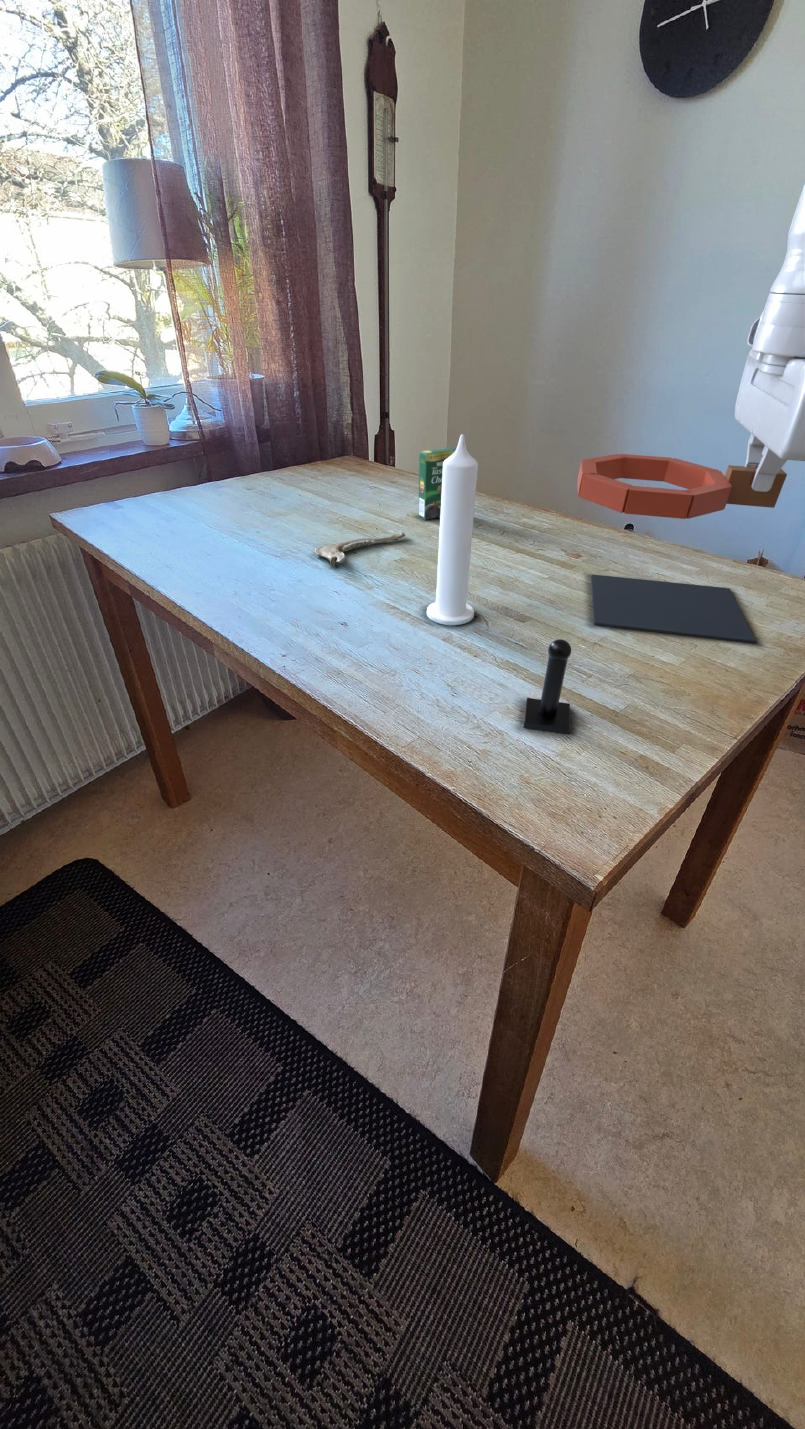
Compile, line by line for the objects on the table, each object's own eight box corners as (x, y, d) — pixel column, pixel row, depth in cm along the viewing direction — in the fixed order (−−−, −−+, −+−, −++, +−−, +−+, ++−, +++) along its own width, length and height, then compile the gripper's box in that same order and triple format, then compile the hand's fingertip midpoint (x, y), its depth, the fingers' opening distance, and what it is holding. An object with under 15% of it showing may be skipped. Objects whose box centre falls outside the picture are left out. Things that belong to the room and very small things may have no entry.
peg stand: (568, 708, 71) (585, 632, 65) (568, 734, 67) (586, 655, 61) (526, 702, 72) (538, 627, 66) (523, 727, 68) (536, 649, 62)
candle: (450, 599, 94) (462, 426, 79) (483, 616, 90) (502, 435, 75) (416, 612, 90) (422, 433, 76) (449, 630, 86) (462, 443, 71)
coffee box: (423, 521, 124) (425, 453, 116) (416, 516, 126) (418, 450, 118) (456, 515, 127) (461, 449, 119) (449, 511, 129) (453, 446, 121)
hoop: (754, 485, 71) (766, 454, 69) (792, 528, 59) (807, 492, 57) (576, 471, 74) (582, 441, 72) (578, 509, 62) (585, 474, 60)
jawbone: (301, 564, 106) (299, 552, 105) (369, 532, 120) (368, 522, 119) (341, 571, 102) (340, 560, 101) (407, 538, 116) (407, 527, 114)
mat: (728, 590, 99) (729, 588, 98) (755, 643, 84) (756, 641, 84) (591, 576, 102) (591, 574, 102) (593, 625, 88) (594, 622, 88)
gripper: (894, 345, 47) (818, 519, 56) (811, 326, 64) (761, 463, 72) (808, 341, 48) (746, 513, 57) (747, 323, 65) (706, 459, 73)
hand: (754, 485), depth 64 cm, fingers closed on hoop, 2 cm apart
